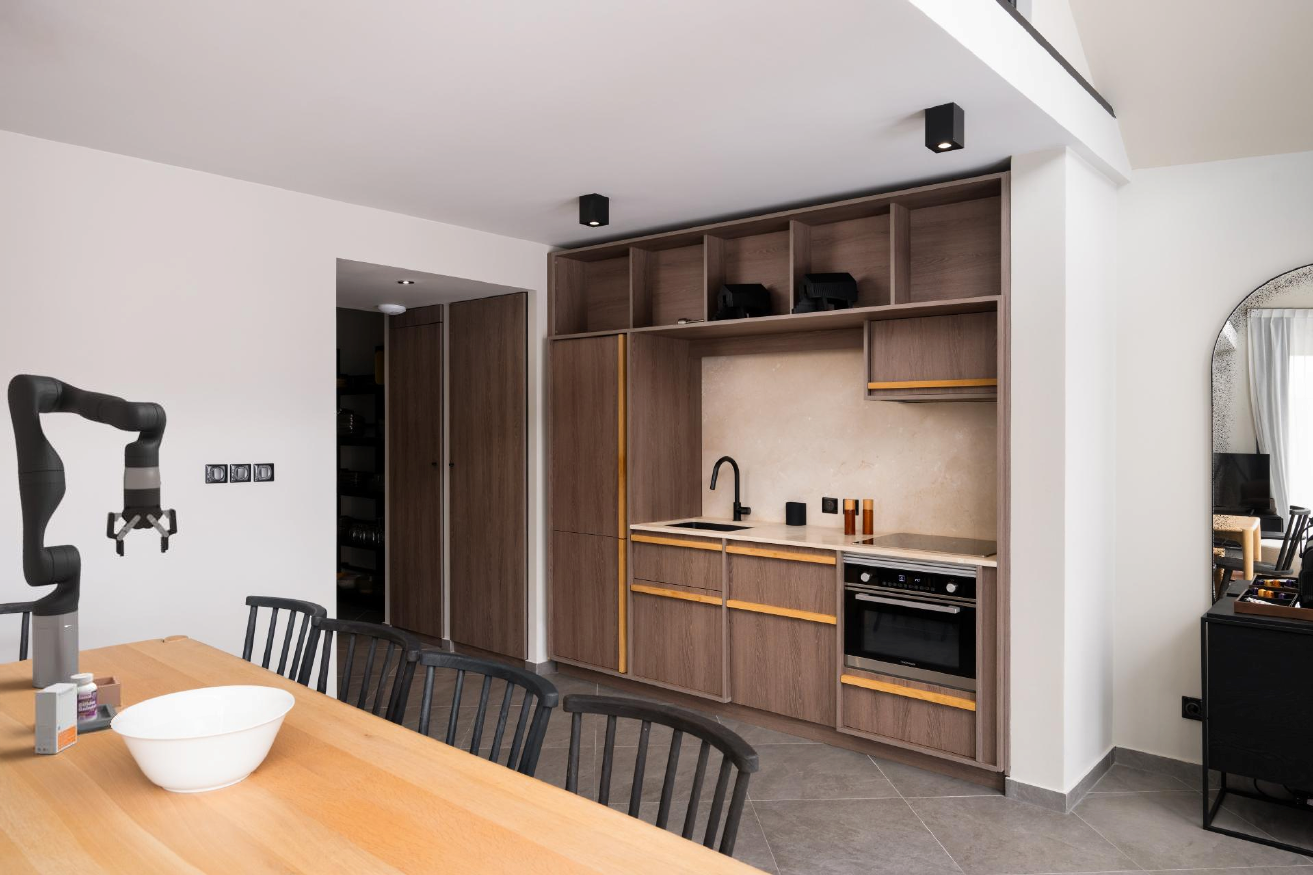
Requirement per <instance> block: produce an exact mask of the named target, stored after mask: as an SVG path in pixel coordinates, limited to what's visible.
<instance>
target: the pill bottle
mask: <svg viewBox="0 0 1313 875" xmlns="http://www.w3.org/2000/svg"><path fill="white" fill-rule="evenodd" d="M93 679H94V674H93V673H92V672H83V673H79V674H76V675H73V676H71V677H70V683H72V684H77V723H82V722H87V721H93V720H95V719H96V718H97V686H96V684H94V683H92V681H93Z"/></svg>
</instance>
